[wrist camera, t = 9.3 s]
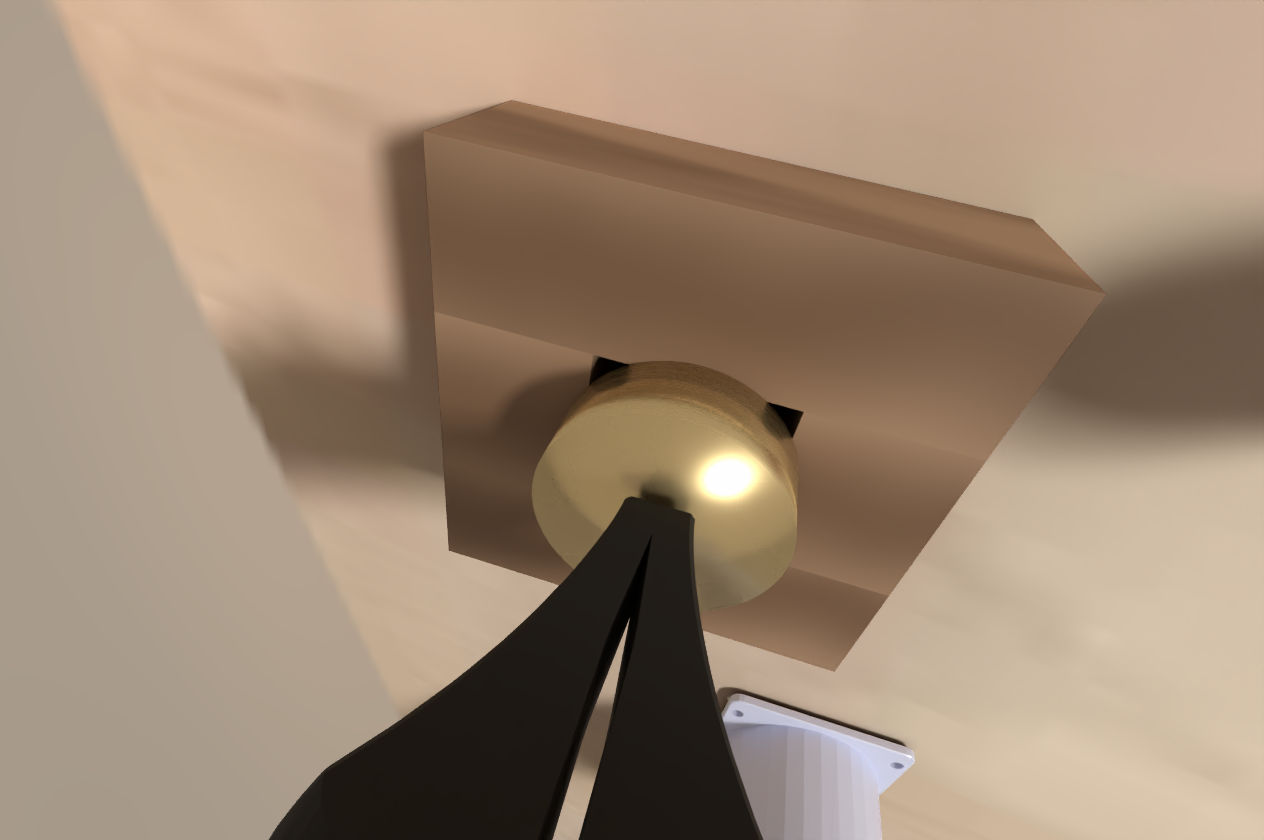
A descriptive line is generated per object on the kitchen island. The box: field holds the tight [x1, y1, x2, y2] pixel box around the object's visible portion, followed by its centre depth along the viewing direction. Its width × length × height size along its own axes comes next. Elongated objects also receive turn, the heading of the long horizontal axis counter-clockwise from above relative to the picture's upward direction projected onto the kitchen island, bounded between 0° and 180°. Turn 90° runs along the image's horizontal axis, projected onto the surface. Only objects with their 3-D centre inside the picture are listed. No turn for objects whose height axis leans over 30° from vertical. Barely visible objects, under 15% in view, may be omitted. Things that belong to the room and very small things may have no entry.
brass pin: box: [532, 361, 799, 611], centre depth 15 cm, size 6×6×6 cm
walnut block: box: [423, 100, 1106, 672], centre depth 15 cm, size 12×12×4 cm
